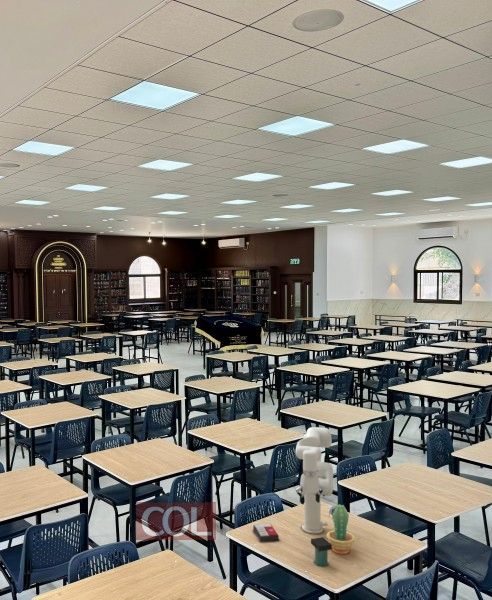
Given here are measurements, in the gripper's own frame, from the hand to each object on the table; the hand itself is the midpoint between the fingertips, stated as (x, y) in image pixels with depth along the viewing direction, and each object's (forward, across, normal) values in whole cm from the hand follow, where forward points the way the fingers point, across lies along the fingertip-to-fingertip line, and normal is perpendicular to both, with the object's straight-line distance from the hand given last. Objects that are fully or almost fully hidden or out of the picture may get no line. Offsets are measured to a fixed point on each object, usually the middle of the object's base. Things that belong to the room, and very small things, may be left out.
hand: (309, 502), depth 310 cm
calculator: (+26, +17, -22) cm, 38 cm away
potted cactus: (+26, -16, +6) cm, 32 cm away
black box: (+17, +2, +16) cm, 24 cm away
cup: (+26, +2, +16) cm, 31 cm away
